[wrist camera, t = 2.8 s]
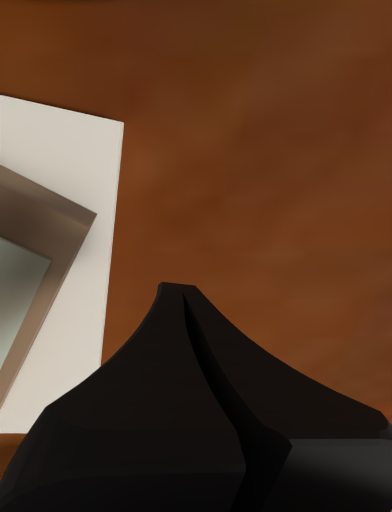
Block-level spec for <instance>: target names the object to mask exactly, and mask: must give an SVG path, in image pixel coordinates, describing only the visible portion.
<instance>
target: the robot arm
mask: <svg viewBox="0 0 392 512" xmlns="http://www.w3.org/2000/svg"><path fill="white" fill-rule="evenodd" d="M391 510H392V425H391V423H390V422H389V421H388V420H387V419H386V417H385V416H384V415H383V414H382V413H381V412H380V411H378V410H376V409H374V408H371V407H369V406H367V405H365V404H363V403H360V402H358V401H356V400H354V399H351V398H349V397H347V396H345V395H343V394H340V393H338V392H336V391H334V390H332V389H330V388H328V387H326V386H324V385H322V384H320V383H318V382H317V381H315V380H313V379H311V378H309V377H307V376H305V375H304V374H302V373H300V372H298V371H297V370H295V369H293V368H292V367H290V366H288V365H287V364H285V363H284V362H282V361H280V360H279V359H277V358H276V357H274V356H273V355H271V354H270V353H268V352H267V351H265V350H264V349H263V348H261V347H260V346H259V345H257V344H256V343H255V342H253V341H252V340H251V339H249V338H248V337H247V336H246V335H244V334H243V333H242V332H241V331H240V330H239V329H238V328H236V327H235V326H234V325H233V324H232V323H231V322H230V321H229V320H228V319H227V318H226V317H224V316H223V315H222V314H221V313H220V312H219V311H218V310H217V309H216V307H215V306H214V305H213V304H212V303H211V302H210V301H209V300H208V299H207V298H206V297H205V296H204V295H203V294H202V292H201V291H200V290H199V289H198V288H197V287H196V286H193V285H184V284H176V283H167V282H161V283H160V284H159V285H158V290H157V296H156V299H155V301H154V303H153V305H152V307H151V309H150V310H149V312H148V314H147V315H146V317H145V318H144V320H143V321H142V323H141V324H140V326H139V327H138V328H137V330H136V331H135V332H134V333H133V335H132V336H131V337H130V338H129V339H128V340H127V342H126V343H125V344H124V345H123V346H122V347H121V348H120V349H119V350H118V351H117V352H116V353H115V354H114V355H113V356H112V357H111V358H110V359H109V360H108V361H107V362H105V363H104V364H103V365H102V366H101V367H99V368H98V369H97V370H96V371H95V372H93V373H92V374H91V375H90V376H89V377H87V378H86V379H85V380H84V381H82V382H81V383H80V384H78V385H77V386H75V387H74V388H72V389H71V390H69V391H68V392H67V393H65V394H64V395H62V396H61V397H59V398H58V399H56V400H55V401H53V402H52V403H51V404H49V405H47V406H46V407H45V408H44V410H43V411H42V412H41V414H40V415H39V417H38V418H37V420H36V421H35V423H34V424H33V425H32V427H31V428H30V430H29V431H28V433H27V435H26V436H25V438H24V439H23V441H22V442H21V444H20V446H19V447H18V449H17V451H16V453H15V455H14V456H13V458H12V460H11V461H10V463H9V465H8V467H7V469H6V471H5V473H4V475H3V477H2V480H1V482H0V512H390V511H391Z"/></svg>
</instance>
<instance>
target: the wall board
mask: <svg viewBox="0 0 392 512" xmlns="http://www.w3.org/2000/svg"><path fill="white" fill-rule="evenodd" d="M123 129H124V123H123V122H119V121H115V120H110V119H106V118H101V117H97V116H92V115H88V114H83V113H79V112H74V111H70V110H65V109H61V108H57V107H52V106H48V105H43V104H39V103H34V102H30V101H25V100H21V99H16V98H12V97H7V96H3V95H0V165H2V166H4V167H6V168H8V169H10V170H12V171H14V172H16V173H18V174H20V175H22V176H24V177H26V178H28V179H30V180H32V181H34V182H36V183H38V184H40V185H42V186H44V187H45V188H47V189H49V190H51V191H53V192H55V193H57V194H59V195H61V196H63V197H65V198H67V199H69V200H71V201H73V202H75V203H77V204H79V205H81V206H83V207H85V208H87V209H89V210H91V211H93V212H95V213H97V216H96V218H95V220H94V222H93V224H92V226H91V228H90V230H89V232H88V234H87V236H86V238H85V240H84V242H83V244H82V246H81V248H80V250H79V252H78V254H77V256H76V258H75V260H74V262H73V265H72V267H71V269H70V271H69V273H68V275H67V277H66V279H65V281H64V283H63V285H62V287H61V289H60V291H59V293H58V295H57V297H56V299H55V301H54V303H53V305H52V307H51V309H50V311H49V313H48V315H47V317H46V319H45V321H44V323H43V325H42V327H41V329H40V331H39V333H38V335H37V337H36V339H35V341H34V343H33V345H32V347H31V349H30V351H29V353H28V355H27V357H26V359H25V361H24V363H23V365H22V367H21V369H20V371H19V373H18V375H17V377H16V379H15V381H14V383H13V385H12V387H11V389H10V391H9V393H8V395H7V397H6V399H5V401H4V403H3V405H2V407H1V409H0V433H28V431H29V430H30V428H31V427H32V425H33V424H34V423H35V421H36V420H37V418H38V417H39V415H40V414H41V412H42V411H43V410H44V408H45V407H46V406H47V405H49V404H51V403H52V402H53V401H55V400H56V399H58V398H59V397H61V396H62V395H64V394H65V393H67V392H68V391H69V390H71V389H72V388H74V387H75V386H77V385H78V384H80V383H81V382H82V381H84V380H85V379H86V378H87V377H89V376H90V375H91V374H92V373H93V372H95V371H96V370H97V369H98V368H99V367H100V365H101V355H102V344H103V334H104V324H105V314H106V303H107V293H108V283H109V273H110V262H111V252H112V242H113V232H114V221H115V211H116V201H117V190H118V180H119V170H120V160H121V149H122V139H123Z"/></svg>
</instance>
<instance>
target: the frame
mask: <svg viewBox="0 0 392 512" xmlns="http://www.w3.org/2000/svg"><path fill="white" fill-rule="evenodd" d="M96 216H97V213H95V212H93V211H91V210H89V209H87V208H85V207H83V206H81V205H79V204H77V203H75V202H73V201H71V200H69V199H67V198H65V197H63V196H61V195H59V194H57V193H55V192H53V191H51V190H49V189H47V188H45V187H44V186H42V185H40V184H38V183H36V182H34V181H32V180H30V179H28V178H26V177H24V176H22V175H20V174H18V173H16V172H14V171H12V170H10V169H8V168H6V167H4V166H2V165H0V409H1V407H2V405H3V403H4V401H5V399H6V397H7V395H8V393H9V391H10V389H11V387H12V385H13V383H14V381H15V379H16V377H17V375H18V373H19V371H20V369H21V367H22V365H23V363H24V361H25V359H26V357H27V355H28V353H29V351H30V349H31V347H32V345H33V343H34V341H35V339H36V337H37V335H38V333H39V331H40V329H41V327H42V325H43V323H44V321H45V319H46V317H47V315H48V313H49V311H50V309H51V307H52V305H53V303H54V301H55V299H56V297H57V295H58V293H59V291H60V289H61V287H62V285H63V283H64V281H65V279H66V277H67V275H68V273H69V271H70V269H71V267H72V265H73V262H74V260H75V258H76V256H77V254H78V252H79V250H80V248H81V246H82V244H83V242H84V240H85V238H86V236H87V234H88V232H89V230H90V228H91V226H92V224H93V222H94V220H95V218H96Z"/></svg>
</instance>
